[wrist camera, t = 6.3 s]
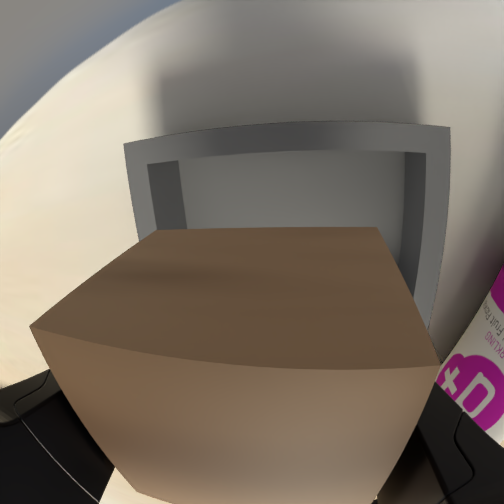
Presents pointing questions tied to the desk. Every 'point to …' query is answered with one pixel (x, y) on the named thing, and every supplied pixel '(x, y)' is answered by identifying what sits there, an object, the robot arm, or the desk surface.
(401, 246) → the tote
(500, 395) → the supplement can
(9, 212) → the desk surface
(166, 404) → the walnut block
